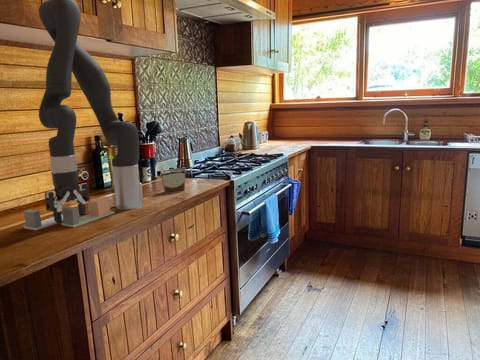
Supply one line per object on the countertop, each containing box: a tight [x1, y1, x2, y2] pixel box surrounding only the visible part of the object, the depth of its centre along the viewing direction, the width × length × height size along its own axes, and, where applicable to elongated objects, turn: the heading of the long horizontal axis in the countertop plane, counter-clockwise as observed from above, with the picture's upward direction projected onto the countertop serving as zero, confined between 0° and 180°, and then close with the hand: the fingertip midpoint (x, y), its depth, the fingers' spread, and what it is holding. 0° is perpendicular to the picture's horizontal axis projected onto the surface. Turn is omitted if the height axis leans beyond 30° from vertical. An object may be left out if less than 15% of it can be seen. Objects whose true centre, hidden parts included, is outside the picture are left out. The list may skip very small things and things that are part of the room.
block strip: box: [60, 206, 116, 228], centre depth 125 cm, size 17×6×6 cm, turn 152°
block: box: [87, 197, 111, 216], centre depth 129 cm, size 5×5×5 cm
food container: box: [159, 168, 187, 195], centre depth 168 cm, size 12×6×10 cm, turn 123°
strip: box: [23, 209, 82, 231], centre depth 123 cm, size 17×6×6 cm, turn 152°
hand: (70, 218), depth 119 cm, fingers open, 8 cm apart
